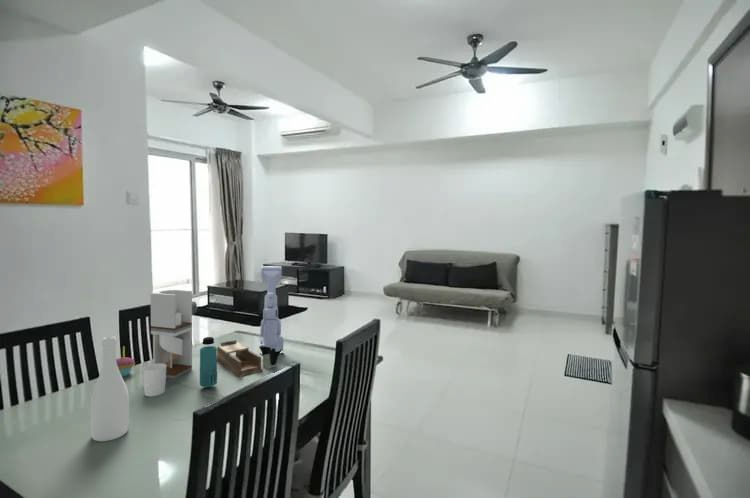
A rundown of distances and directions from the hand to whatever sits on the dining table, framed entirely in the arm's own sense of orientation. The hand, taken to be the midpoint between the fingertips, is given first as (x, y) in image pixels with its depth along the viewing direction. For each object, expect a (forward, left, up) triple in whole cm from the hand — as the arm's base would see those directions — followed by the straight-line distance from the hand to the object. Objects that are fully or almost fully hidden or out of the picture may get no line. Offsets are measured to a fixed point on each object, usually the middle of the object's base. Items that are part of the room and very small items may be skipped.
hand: (269, 362), depth 179 cm
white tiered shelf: (+36, -19, -2) cm, 41 cm away
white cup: (+47, -2, -2) cm, 47 cm away
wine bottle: (+65, +21, -2) cm, 68 cm away
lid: (+11, -14, +5) cm, 19 cm away
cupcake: (+52, -29, -2) cm, 60 cm away
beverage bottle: (+30, +6, -2) cm, 31 cm away
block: (0, 0, -2) cm, 2 cm away
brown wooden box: (+11, -9, -1) cm, 14 cm away
